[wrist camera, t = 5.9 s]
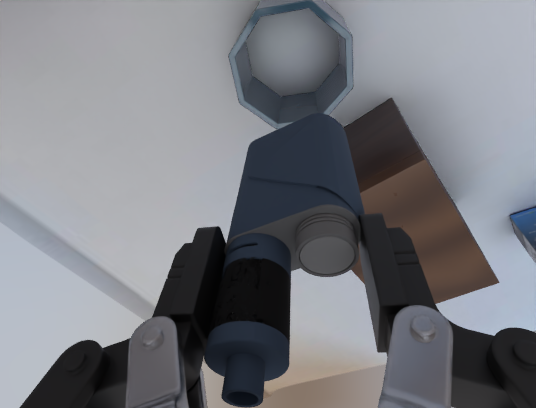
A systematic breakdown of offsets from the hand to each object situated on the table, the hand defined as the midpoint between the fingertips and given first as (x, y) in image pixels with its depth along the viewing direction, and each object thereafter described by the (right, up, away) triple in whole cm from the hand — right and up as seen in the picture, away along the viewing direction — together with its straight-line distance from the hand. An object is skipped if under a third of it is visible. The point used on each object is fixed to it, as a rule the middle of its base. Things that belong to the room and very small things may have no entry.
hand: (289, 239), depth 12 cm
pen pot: (+1, +15, +18) cm, 24 cm away
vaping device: (+1, +4, +6) cm, 7 cm away
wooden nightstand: (+12, +4, +26) cm, 29 cm away
